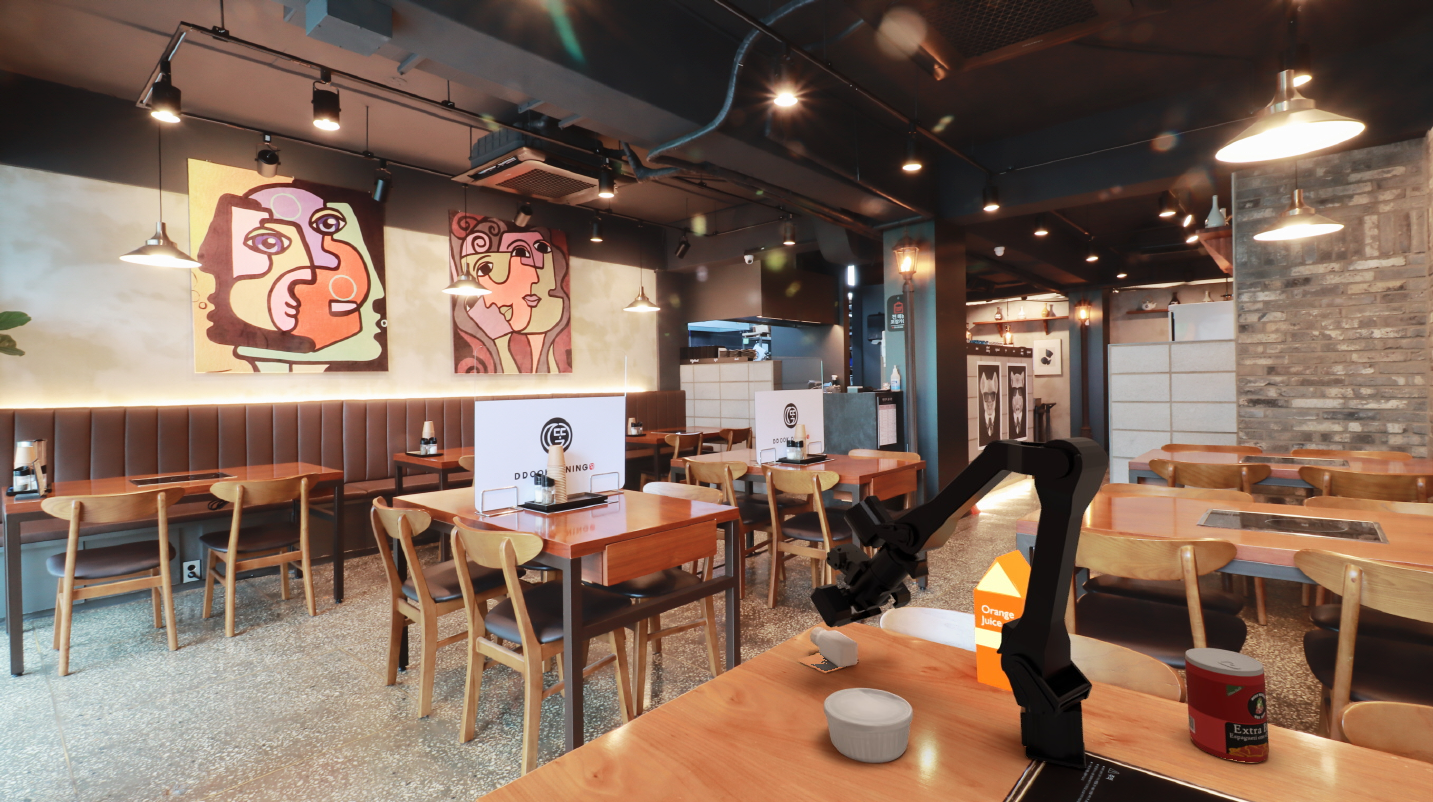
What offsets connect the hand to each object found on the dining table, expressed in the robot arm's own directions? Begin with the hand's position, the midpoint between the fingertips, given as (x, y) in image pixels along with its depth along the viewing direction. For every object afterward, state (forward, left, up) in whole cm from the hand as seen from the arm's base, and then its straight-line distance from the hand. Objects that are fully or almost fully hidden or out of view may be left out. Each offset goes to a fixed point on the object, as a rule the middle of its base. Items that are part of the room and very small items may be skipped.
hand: (837, 624), depth 110 cm
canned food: (-52, +6, -7) cm, 53 cm away
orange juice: (-27, -6, -7) cm, 28 cm away
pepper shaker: (-2, +1, -5) cm, 5 cm away
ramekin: (-11, +24, -8) cm, 28 cm away
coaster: (+2, -1, -7) cm, 8 cm away
